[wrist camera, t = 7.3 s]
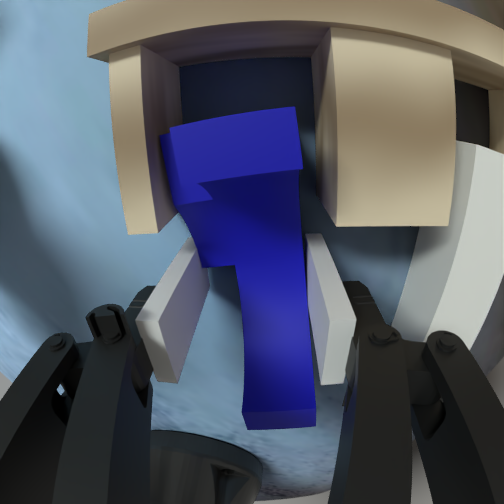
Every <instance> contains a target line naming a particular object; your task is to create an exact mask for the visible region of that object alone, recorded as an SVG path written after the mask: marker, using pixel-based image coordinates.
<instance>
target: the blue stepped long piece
mask: <svg viewBox="0 0 504 504" xmlns="http://www.w3.org/2000/svg"><path fill="white" fill-rule="evenodd" d="M169 129H170V133H167V134H163V135H159V136H160V142H161V147H162V152H163V157H164V162H165V167H166V172H167V177H168V181H169V186H170V191H171V195H172V200H173V204H174V206H175V208H176V209H177V210H178V212H179V213H180V214H181V216H182V218H183V219H184V221H185V223H186V225H187V227H188V229H189V231H190V233H191V235H192V238H193V240H194V243H195V246H196V248H197V251H198V255H199V258H200V262H201V265H202V268H209V267H219V266H229V265H235V268H236V274H237V280H238V286H239V294H240V301H241V310H242V321H243V336H244V393H243V405H242V415H243V418H244V421H245V424H246V427H247V430H267V429H288V428H302V427H313V426H316V401H315V389H314V377H313V365H312V352H311V340H310V328H309V316H308V304H307V292H306V280H305V268H304V256H303V244H302V231H301V218H300V203H299V169H303V163H302V155H301V147H300V139H299V132H298V124H297V117H296V110H295V106H294V107H284V108H275V109H267V110H260V111H253V112H246V113H240V114H234V115H228V116H222V117H217V118H212V119H207V120H202V121H197V122H192V123H188V124H183V125H179V126H175V127H171V128H169Z"/></svg>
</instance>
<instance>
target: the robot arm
mask: <svg viewBox="0 0 504 504" xmlns="http://www.w3.org/2000/svg"><path fill="white" fill-rule="evenodd" d="M305 280H306V292H307V303H308V308H309V314H310V320H311V325H312V331H313V337H314V343H315V350H316V356H317V362H318V369H319V376H320V382H321V385H329V384H340V383H343V382H344V378H345V374H346V376H347V380H348V386H347V390H346V394H345V397H344V401H343V405H342V406H344V413H343V421H342V428H341V435H340V442H339V448H338V454H337V460H336V465H335V471H334V476H333V481H332V486H331V491H330V496H329V500H328V504H410V503H411V487H412V486H411V485H412V429H413V432H414V436H415V439H416V442H417V445H418V449H419V452H420V455H421V459H422V462H423V466H424V469H425V473H426V477H427V480H428V484H429V488H430V492H431V496H432V501H433V504H504V408H503V407H502V405H501V403H500V401H499V399H498V397H497V395H496V394H495V392H494V390H493V389H492V387H491V385H490V383H489V382H488V380H487V378H486V376H485V375H484V373H483V371H482V370H481V368H480V367H479V365H478V363H477V362H476V360H475V359H474V357H473V355H472V354H471V352H470V351H469V349H468V348H467V346H466V345H465V343H464V342H463V340H462V339H461V338H460V337H459V336H457V335H456V334H454V333H452V332H449V331H445V330H438V331H435V332H432V333H431V334H430V335H429V336H428V338H427V341H426V342H417V341H409V340H404V339H402V336H401V334H400V332H398V331H397V330H396V329H395V328H393V327H391V326H389V325H386V324H385V322H384V319H383V317H382V315H381V313H380V311H379V309H378V307H377V305H376V303H375V301H374V299H373V297H371V294H370V292H369V290H368V288H367V287H366V286H365V285H364V284H362V283H361V282H360V281H344V282H342V281H341V279H340V276H339V274H338V271H337V269H336V266H335V264H334V262H333V259H332V257H331V255H330V252H329V250H328V248H327V245H326V243H325V241H324V238H323V236H322V234H321V233H318V234H305ZM209 288H210V283H209V276H208V269H207V268H202V265H201V262H200V258H199V255H198V251H197V248H196V246H195V243H194V240H193V238H192V237H191V238H188V239H187V240H186V242H185V243H184V245H183V246H182V248H181V249H180V250H179V252H178V253H177V255H176V257H175V258H174V260H173V261H172V263H171V264H170V266H169V267H168V269H167V270H166V272H165V273H164V275H163V276H162V278H161V279H160V281H159V283H158V284H157V286H146V287H145V288H144V289H142V290H141V291H139V292H138V294H137V295H136V296H135V298H134V299H133V301H132V302H131V304H130V305H129V307H128V308H127V310H126V311H125V313H124V310H123V308H122V307H121V306H119V305H116V304H107V305H102V306H99V307H97V308H95V309H93V310H92V311H91V312H89V313H88V315H87V316H86V317H85V318H86V320H87V323H88V325H89V327H90V330H91V332H92V335H93V337H94V340H93V341H92V342H85V343H76V342H75V340H74V338H73V336H72V335H71V334H69V333H57V334H54V335H52V336H51V337H49V338H48V339H47V340H46V341H45V342H44V343H43V344H42V345H41V347H40V348H39V349H38V350H37V352H36V353H35V354H34V355H33V357H32V358H31V359H30V361H29V362H28V363H27V365H26V366H25V367H24V369H23V370H22V371H21V373H20V374H19V375H18V377H17V378H16V379H15V381H14V382H13V384H12V385H11V386H10V388H9V389H8V391H7V392H6V394H5V395H4V397H3V398H2V399H1V401H0V504H253V503H254V501H255V499H256V497H257V495H258V493H259V490H260V488H261V485H262V470H263V468H262V465H261V463H260V462H259V460H257V459H256V458H255V457H254V456H252V455H251V454H249V453H248V452H246V451H244V450H242V449H239V448H237V447H235V446H232V445H229V444H226V443H223V442H220V441H217V440H213V439H210V438H206V437H202V436H197V435H192V434H187V433H180V432H173V431H157V430H155V431H151V412H152V396H153V388H152V384H151V382H150V377H151V375H152V372H154V374H155V377H156V379H157V381H159V382H168V383H178V381H179V378H180V374H181V371H182V368H183V365H184V362H185V359H186V356H187V353H188V350H189V347H190V344H191V341H192V338H193V335H194V332H195V329H196V326H197V323H198V320H199V317H200V314H201V311H202V308H203V305H204V302H205V299H206V297H207V294H208V291H209ZM60 384H61V385H62V387H63V389H64V390H65V391H64V393H63V394H62V395H60V394H59V393H58V391H57V388H58V386H59V385H60ZM411 426H412V428H411Z"/></svg>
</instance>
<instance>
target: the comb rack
mask: <svg viewBox="0 0 504 504" xmlns="http://www.w3.org/2000/svg"><path fill="white" fill-rule="evenodd" d="M87 57H90V58H93V59H97V60H100V61H104V62H107V63H109V82H110V102H111V117H112V129H113V139H114V148H115V157H116V165H117V172H118V179H119V186H120V192H121V198H122V204H123V210H124V215H125V221H126V226H127V231H128V235H132V234H149V233H159V232H160V231H161V230H162V228H163V227H164V226H165V225H166V224H167V223H168V222H169V221H170V220H171V219H172V218H173V217H174V216H175V215H176V214H177V213H178V210H177V209H176V208H175V206H174V204H173V200H172V195H171V191H170V186H169V181H168V177H167V172H166V167H165V162H164V157H163V152H162V147H161V142H160V136H159V135H163V134H167V133H170V129H169V128H171V127H175V126H179V125H183V120H182V107H181V91H180V73H179V67H182V66H188V65H194V64H201V63H209V62H217V61H226V60H237V59H250V58H271V57H311V64H312V78H313V95H314V115H315V144H316V196H317V197H318V199H319V200H320V202H321V203H322V205H323V206H324V208H325V210H326V211H327V213H328V214H329V216H330V217H331V219H332V221H333V222H334V224H335V225H336V227H350V226H448V224H449V217H450V210H451V202H452V193H453V183H454V170H455V153H456V104H455V86H454V79H456V80H459V81H463V82H466V83H469V84H472V85H475V86H478V87H481V88H484V89H487V90H488V94H489V116H490V140H489V149H491V150H494V151H496V152H499V153H501V154H504V30H503V29H501V28H499V27H497V26H495V25H493V24H491V23H489V22H487V21H485V20H483V19H481V18H478V17H476V16H474V15H472V14H470V13H467V12H465V11H462V10H460V9H458V8H455V7H452V6H450V5H447V4H444V3H442V2H439V1H436V0H126V1H123V2H120V3H117V4H114V5H111V6H109V7H106V8H103V9H101V10H98V11H96V12H93V13H91V14H89V23H88V43H87Z"/></svg>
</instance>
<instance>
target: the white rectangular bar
mask: <svg viewBox="0 0 504 504" xmlns="http://www.w3.org/2000/svg"><path fill="white" fill-rule="evenodd" d="M503 274H504V154H501V153H499V152H496V151H494V150H491V149H488V148H486V147H483V146H480V145H477V144H472V143H467V142H462V141H457V140H456V153H455V170H454V183H453V193H452V202H451V210H450V217H449V224H448V226H419V231H418V236H417V240H416V244H415V248H414V252H413V256H412V260H411V264H410V268H409V271H408V275H407V278H406V282H405V285H404V289H403V292H402V295H401V298H400V301H399V304H398V308H397V311H396V313H395V316H394V319H393V322H392V325H391V327H393V328H395V329H396V330H397V331H398V332H400V334H401V336H402V339H404V340H409V341H417V342H426V341H427V338H428V336H429V335H430V334H431V333H432V332H435V331H438V330H445V331H449V332H452V333H454V334H456V335H457V336H459V337H460V338H461V339H462V340H463V342H464V343H465V345H466V346H467V348H468V349H469V350H470V349H471V347H472V345H473V343H474V341H475V339H476V337H477V335H478V333H479V331H480V329H481V327H482V325H483V323H484V321H485V318H486V316H487V314H488V312H489V309H490V307H491V305H492V302H493V300H494V298H495V295H496V293H497V290H498V288H499V285H500V282H501V280H502V277H503Z"/></svg>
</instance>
